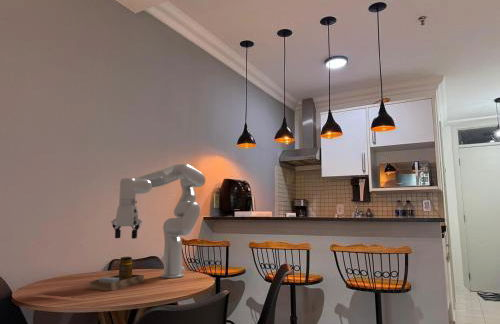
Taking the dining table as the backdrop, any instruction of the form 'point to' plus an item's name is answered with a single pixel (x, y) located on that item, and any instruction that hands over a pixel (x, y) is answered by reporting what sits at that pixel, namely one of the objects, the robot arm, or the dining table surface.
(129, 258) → the condiment
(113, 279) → the painted block
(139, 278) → the caddy
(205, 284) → the dining table surface
